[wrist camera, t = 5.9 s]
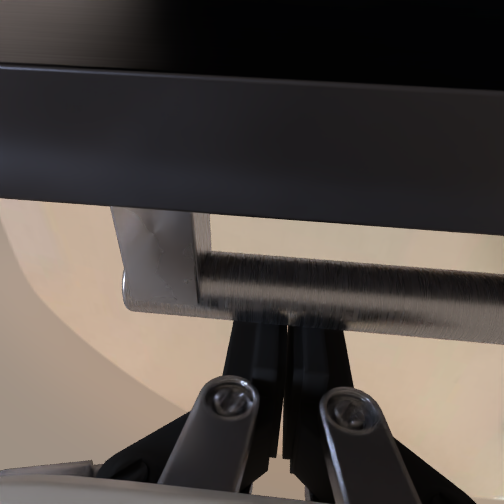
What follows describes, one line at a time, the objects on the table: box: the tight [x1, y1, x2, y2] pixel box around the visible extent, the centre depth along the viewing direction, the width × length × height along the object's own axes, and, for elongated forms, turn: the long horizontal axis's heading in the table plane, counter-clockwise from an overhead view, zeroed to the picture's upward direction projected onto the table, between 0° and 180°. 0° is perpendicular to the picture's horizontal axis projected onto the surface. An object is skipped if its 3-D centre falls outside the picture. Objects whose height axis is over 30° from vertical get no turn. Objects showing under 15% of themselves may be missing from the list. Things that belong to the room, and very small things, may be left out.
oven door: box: [0, 0, 504, 345], centre depth 12 cm, size 6×26×18 cm, turn 88°
